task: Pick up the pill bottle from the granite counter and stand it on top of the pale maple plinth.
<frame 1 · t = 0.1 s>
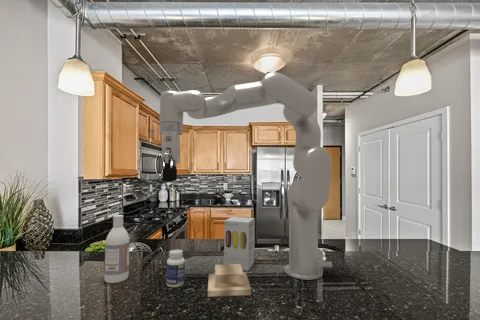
hand: (169, 181, 83), 31 cm above the table, tool pointing down, fingers open, 9 cm apart
plinth: (228, 286, 76), on the table
bath foam: (116, 279, 80), on the table
pill bottle: (175, 284, 77), on the table
supplement box: (239, 265, 93), on the table
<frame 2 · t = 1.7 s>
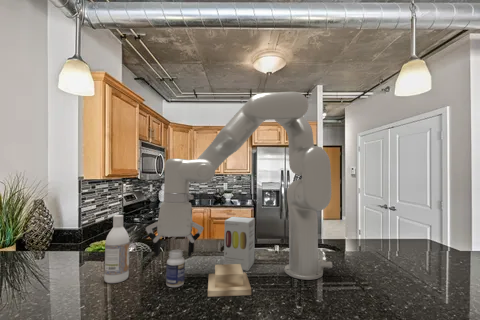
hand: (173, 254, 77), 9 cm above the table, tool pointing down, fingers open, 9 cm apart
nothing on the table moved.
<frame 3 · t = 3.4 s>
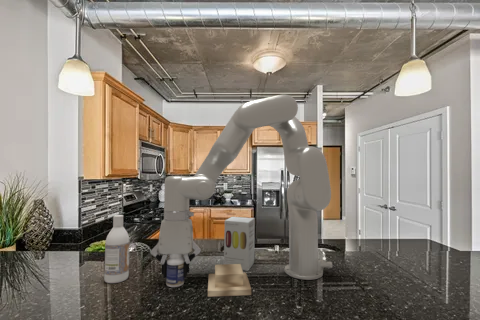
hand: (175, 275, 77), 3 cm above the table, tool pointing down, fingers closed on pill bottle, 5 cm apart
pill bottle: (175, 284, 77), on the table, touching gripper
everything else where it was.
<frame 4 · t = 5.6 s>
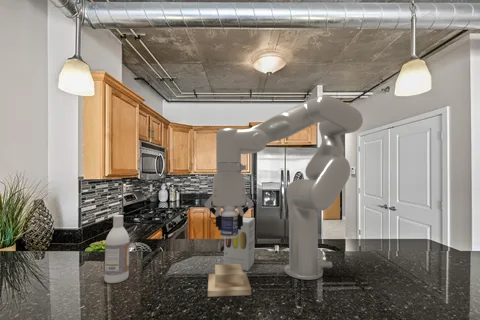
hand: (229, 228, 77), 17 cm above the table, tool pointing down, fingers closed on pill bottle, 5 cm apart
pill bottle: (229, 237, 77), point 14 cm above the table, touching gripper
everything else where it was.
when the fingers open (8 cm above the table, at t = 8.1 s): pill bottle stays where it is, resting on plinth.
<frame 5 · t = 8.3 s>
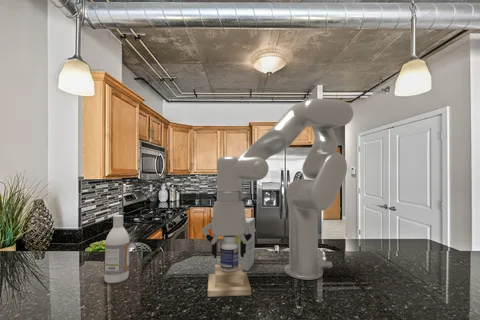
hand: (228, 256, 76), 9 cm above the table, tool pointing down, fingers open, 7 cm apart
pill bottle: (229, 269, 76), point 5 cm above the table, touching plinth
everything else where it was.
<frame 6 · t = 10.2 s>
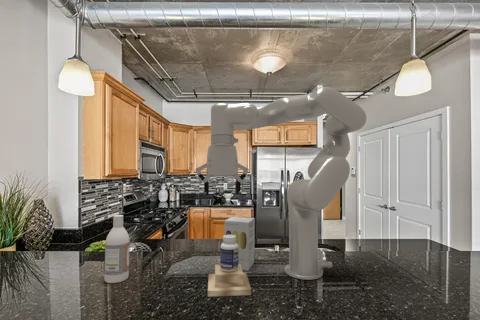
hand: (222, 194, 82), 27 cm above the table, tool pointing down, fingers open, 9 cm apart
nothing on the table moved.
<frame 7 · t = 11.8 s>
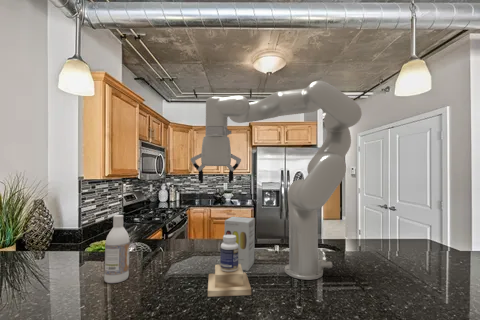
hand: (215, 183, 87), 30 cm above the table, tool pointing down, fingers open, 9 cm apart
nothing on the table moved.
at the end: pill bottle 0.2 cm off-centre on the plinth, point 4.8 cm above the plinth's base; pill bottle tilted 0°; the gripper is holding nothing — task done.
